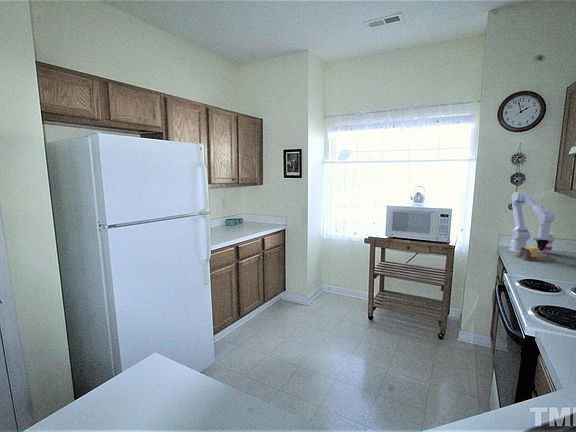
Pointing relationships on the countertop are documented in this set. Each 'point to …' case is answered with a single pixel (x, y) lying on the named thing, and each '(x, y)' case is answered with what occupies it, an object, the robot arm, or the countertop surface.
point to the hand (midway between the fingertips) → (540, 250)
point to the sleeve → (533, 251)
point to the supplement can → (548, 245)
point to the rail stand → (525, 255)
